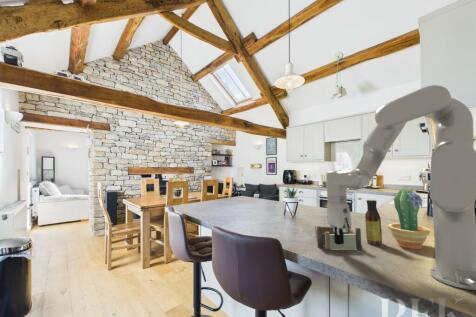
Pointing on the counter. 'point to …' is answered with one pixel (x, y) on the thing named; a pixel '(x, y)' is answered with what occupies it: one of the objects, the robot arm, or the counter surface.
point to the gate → (348, 244)
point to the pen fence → (321, 233)
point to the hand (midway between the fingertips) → (339, 243)
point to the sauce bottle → (373, 224)
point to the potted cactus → (408, 220)
